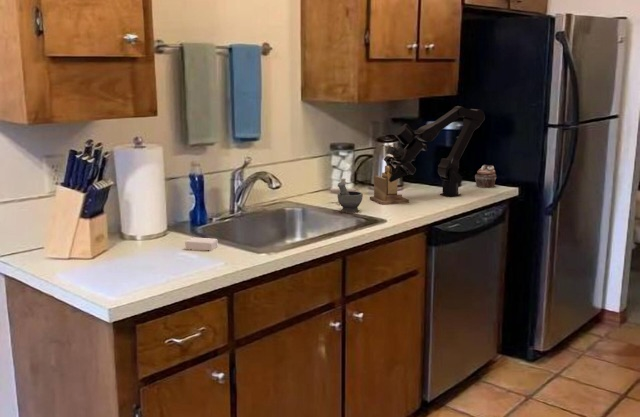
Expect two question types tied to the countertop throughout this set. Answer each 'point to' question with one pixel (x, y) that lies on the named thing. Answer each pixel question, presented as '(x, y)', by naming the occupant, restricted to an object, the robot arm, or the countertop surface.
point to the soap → (201, 243)
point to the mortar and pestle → (349, 199)
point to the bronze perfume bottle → (390, 185)
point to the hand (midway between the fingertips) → (386, 180)
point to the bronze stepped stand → (385, 193)
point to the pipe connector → (339, 189)
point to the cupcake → (485, 177)
